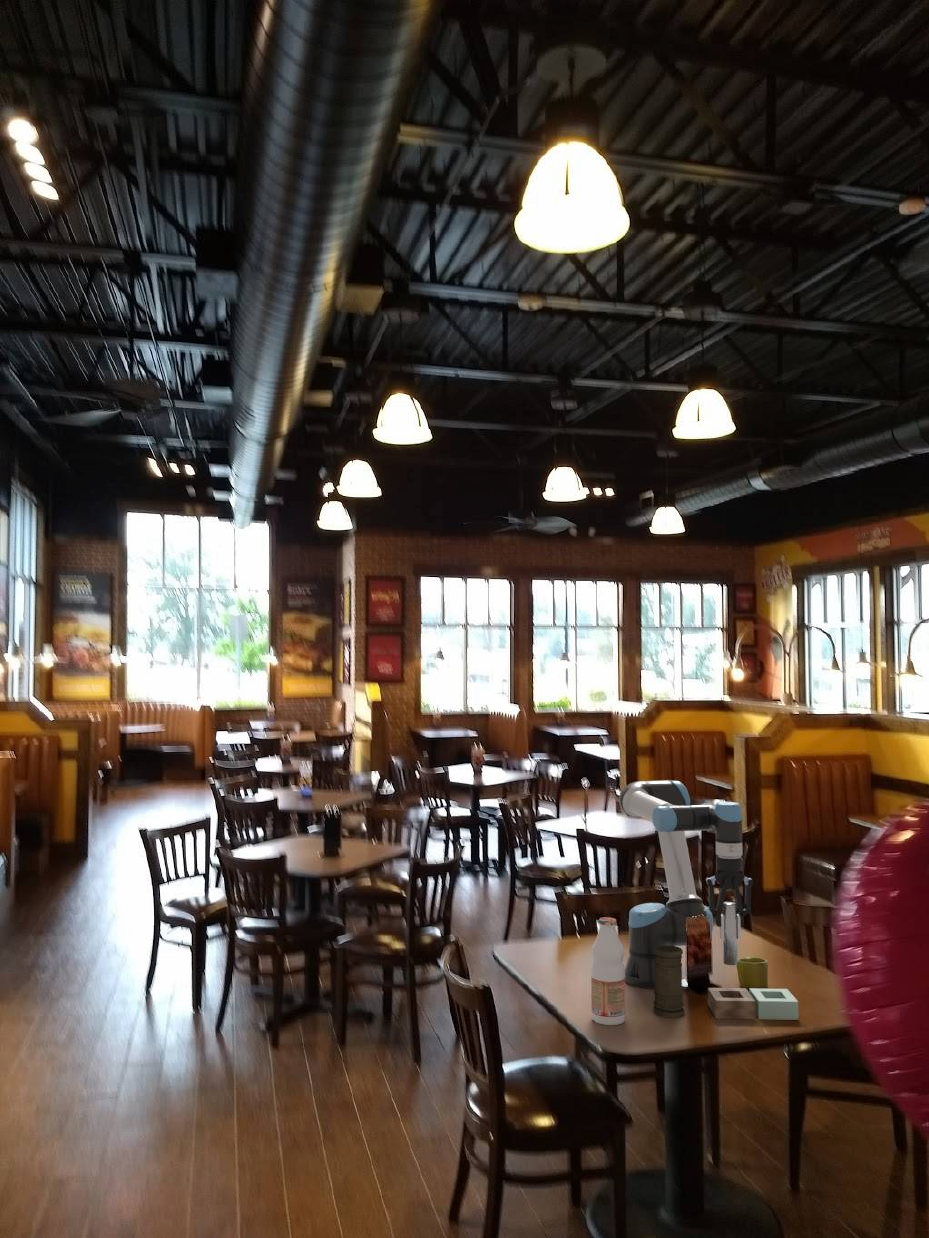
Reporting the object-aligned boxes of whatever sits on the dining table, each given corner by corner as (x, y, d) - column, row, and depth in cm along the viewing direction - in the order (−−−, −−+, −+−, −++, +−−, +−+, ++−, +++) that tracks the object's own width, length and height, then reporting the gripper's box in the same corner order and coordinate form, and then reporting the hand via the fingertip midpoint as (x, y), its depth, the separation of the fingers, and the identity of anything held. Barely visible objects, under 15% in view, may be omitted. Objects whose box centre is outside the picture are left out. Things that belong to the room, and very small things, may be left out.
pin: (725, 965, 280) (724, 905, 281) (721, 960, 284) (721, 901, 285) (739, 965, 280) (738, 905, 281) (735, 961, 284) (735, 901, 285)
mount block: (716, 1018, 276) (715, 1000, 276) (708, 1004, 287) (707, 987, 287) (755, 1019, 276) (755, 1001, 276) (746, 1005, 287) (745, 988, 287)
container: (678, 1019, 275) (677, 955, 276) (648, 1014, 280) (647, 950, 281) (689, 1010, 283) (688, 947, 284) (659, 1004, 288) (658, 942, 288)
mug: (776, 987, 297) (764, 953, 300) (743, 995, 299) (731, 962, 302) (774, 982, 309) (763, 950, 312) (742, 990, 311) (731, 958, 314)
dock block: (759, 1019, 276) (758, 1001, 276) (749, 1005, 287) (749, 988, 287) (798, 1019, 275) (798, 1001, 275) (787, 1006, 286) (787, 988, 286)
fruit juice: (586, 1022, 273) (585, 920, 275) (598, 1011, 282) (597, 913, 283) (618, 1028, 269) (617, 925, 270) (629, 1017, 277) (629, 917, 278)
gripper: (702, 858, 280) (703, 941, 279) (762, 859, 280) (763, 942, 278) (697, 853, 288) (697, 934, 287) (755, 854, 287) (756, 934, 286)
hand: (730, 937), depth 283 cm, fingers closed on pin, 4 cm apart
